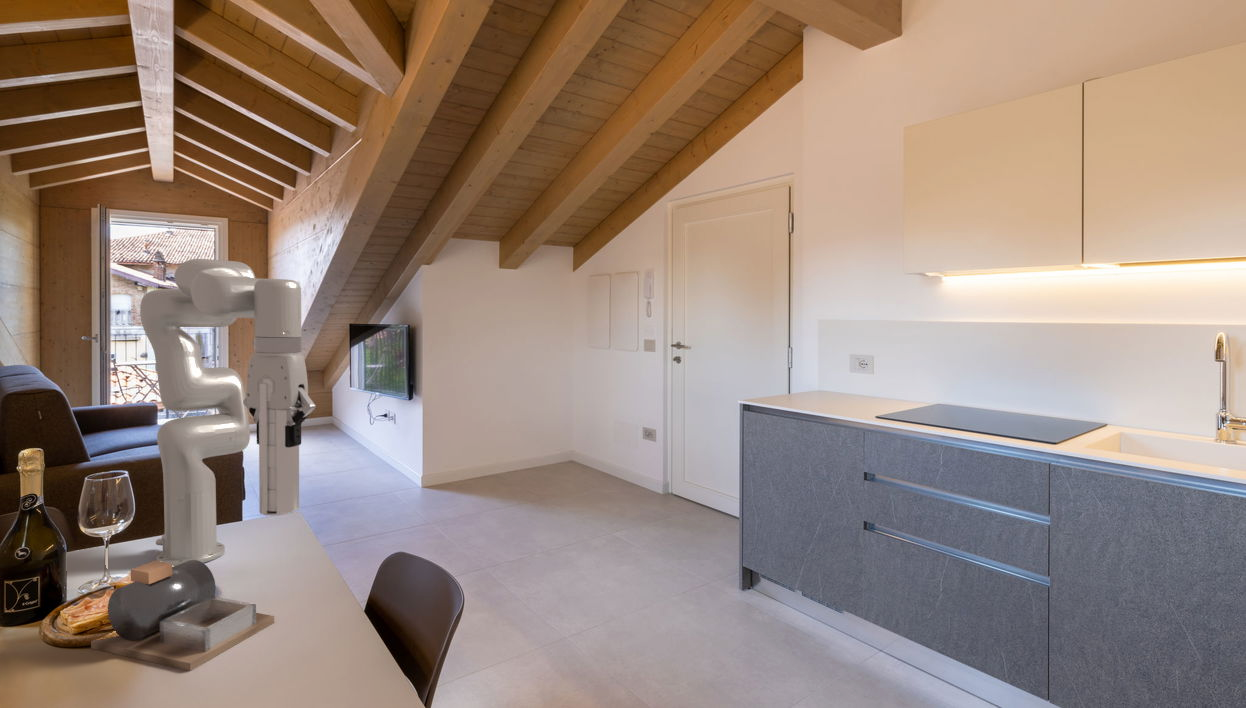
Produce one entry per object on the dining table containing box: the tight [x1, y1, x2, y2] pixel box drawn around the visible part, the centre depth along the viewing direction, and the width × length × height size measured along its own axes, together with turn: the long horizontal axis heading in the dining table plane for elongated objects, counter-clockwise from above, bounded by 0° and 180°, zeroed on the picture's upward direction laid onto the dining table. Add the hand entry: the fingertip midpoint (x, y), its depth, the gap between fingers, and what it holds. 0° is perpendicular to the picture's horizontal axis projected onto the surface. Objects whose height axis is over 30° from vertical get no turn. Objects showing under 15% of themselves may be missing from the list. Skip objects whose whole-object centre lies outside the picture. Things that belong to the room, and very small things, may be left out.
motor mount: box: [90, 560, 275, 672], centre depth 106 cm, size 21×16×12 cm
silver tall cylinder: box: [258, 379, 300, 517], centre depth 115 cm, size 6×6×25 cm
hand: (279, 443), depth 115 cm, fingers closed on silver tall cylinder, 5 cm apart
